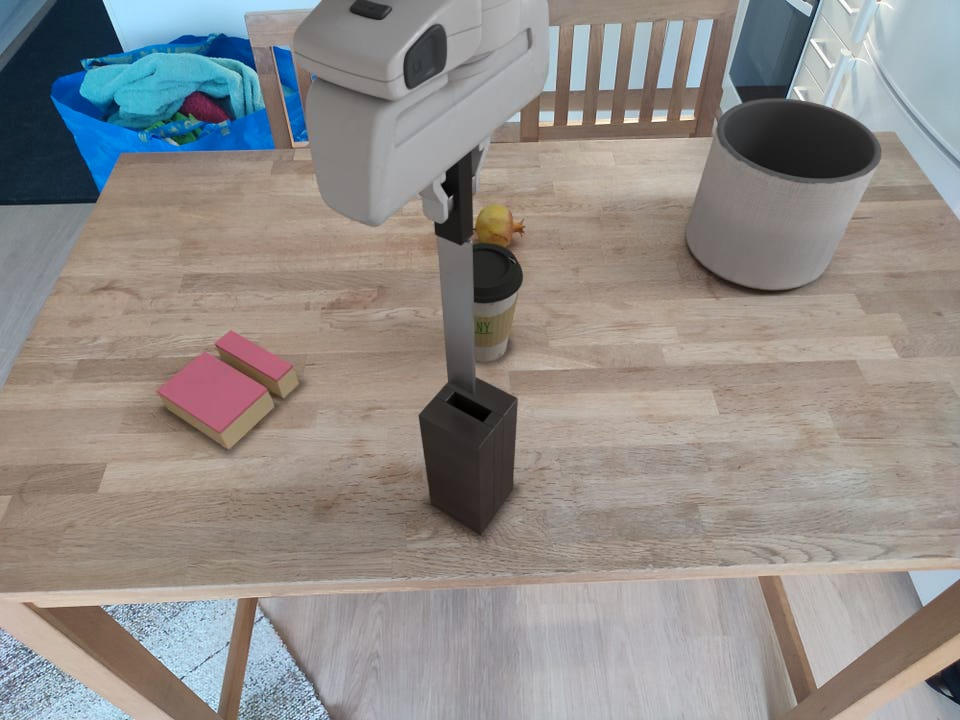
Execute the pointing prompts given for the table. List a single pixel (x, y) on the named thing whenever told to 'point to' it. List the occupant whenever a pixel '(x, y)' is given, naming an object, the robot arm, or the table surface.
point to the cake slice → (257, 363)
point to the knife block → (469, 452)
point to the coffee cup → (494, 298)
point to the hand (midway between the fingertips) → (452, 205)
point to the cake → (216, 399)
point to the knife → (458, 277)
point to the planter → (779, 191)
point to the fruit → (497, 225)
